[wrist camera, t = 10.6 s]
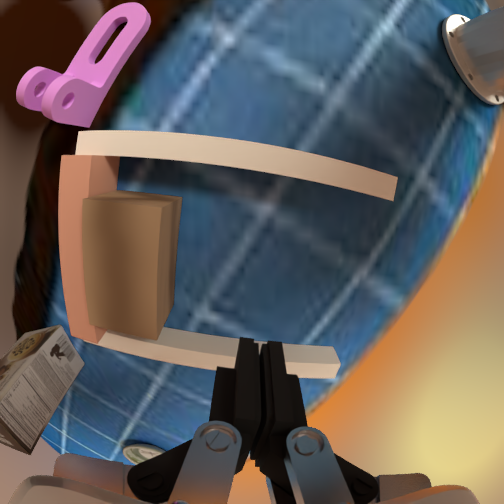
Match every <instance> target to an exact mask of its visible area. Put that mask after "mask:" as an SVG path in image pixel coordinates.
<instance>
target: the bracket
mask: <svg viewBox="0 0 504 504" xmlns="http://www.w3.org/2000/svg"><path fill="white" fill-rule="evenodd" d="M150 21H151V20H150V15H149V14H148V12H147V11H146V9H145V8H144V6H142V5H141V4H139V3H125V4H121V5H119V6H117V7H115V8H113V9H111V10H110V11H108V12H107V13H106V14H105V15H104V16H103V17H102V18H101V19H100V20H99V22H98V23H97V24H96V26H95V27H94V29H93V30H92V31H91V33H90V34H89V36H88V37H87V38H86V40H85V41H84V43H83V45H82V46H81V48H80V49H79V51H78V52H77V54H76V56H75V57H74V59H73V61H72V62H71V64H70V66H69V67H68V69H67V71H66V72H65V73H64V74H60V73H58V72H55V71H53V70H50V69H46V68H43V67H34V68H33V69H31V70H29V71H28V72H27V73H26V74H25V75H24V76H23V77H22V79H21V80H20V83H19V85H18V87H17V92H16V98H17V101H18V103H19V104H20V105H22V106H24V107H26V108H29V109H31V110H37V111H42V113H43V115H44V116H46V117H47V118H49V119H51V120H53V121H55V122H58V123H64V124H70V125H76V126H82V127H88V128H89V127H90V125H91V123H92V121H93V119H94V117H95V115H96V113H97V111H98V109H99V107H100V105H101V103H102V101H103V99H104V97H105V96H106V94H107V92H108V90H109V88H110V87H111V85H112V83H113V82H114V80H115V78H116V77H117V75H118V73H119V72H120V70H121V68H122V67H123V65H124V64H125V62H126V61H127V59H128V58H129V56H130V55H131V53H132V52H133V50H134V49H135V47H136V46H137V45H138V43H139V42H140V40H141V39H142V38H143V36H144V35H145V34H146V32H147V31H148V29H149V26H150ZM124 22H127V25H126V26H125V27H124V29H123V30H122V31H121V33H120V34H119V35H118V37H117V38H116V40H115V41H114V42H113V44H112V45H111V47H110V48H109V50H108V51H107V53H106V54H105V56H104V57H103V59H102V60H101V61H100V62H99V63H97V64H95V59H96V57H97V56H98V54H99V53H100V51H101V50H102V48H103V47H104V45H105V44H106V42H107V41H108V39H109V38H110V37H111V35H112V34H113V32H114V31H115V30H116V28H117V27H118V26H119V25H120V24H122V23H124ZM36 86H37V88H36V90H35V87H36ZM34 90H35V91H34Z"/></svg>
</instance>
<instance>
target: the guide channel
mask: <svg viewBox="0 0 504 504" xmlns="http://www.w3.org/2000/svg"><path fill="white" fill-rule="evenodd" d="M120 156H127V157H143V158H157V159H168V160H179V161H189V162H198V163H206V164H214V165H221V166H229V167H236V168H242V169H249V170H255V171H261V172H267V173H273V174H278V175H284V176H289V177H294V178H299V179H304V180H309V181H314V182H318V183H323V184H327V185H332V186H336V187H340V188H345V189H349V190H353V191H357V192H361V193H365V194H369V195H372V196H376V197H380V198H384V199H387V200H391V201H393V200H394V195H395V190H396V185H397V180H398V177H395V176H392V175H389V174H386V173H383V172H379V171H376V170H373V169H369V168H366V167H363V166H359V165H356V164H352V163H348V162H345V161H341V160H337V159H333V158H329V157H325V156H321V155H316V154H312V153H307V152H303V151H298V150H293V149H288V148H283V147H278V146H273V145H267V144H261V143H255V142H249V141H243V140H236V139H229V138H221V137H213V136H204V135H194V134H183V133H169V132H152V131H79V132H78V139H77V146H76V154H75V155H62V157H61V168H60V181H59V211H58V219H59V249H60V263H61V273H62V282H63V290H64V297H65V304H66V310H67V316H68V321H69V326H70V331H71V336H74V337H77V338H80V339H83V340H84V341H86V342H89V343H92V344H95V345H99V346H102V347H106V348H109V349H113V350H117V351H120V352H124V353H128V354H132V355H136V356H141V357H145V358H149V359H154V360H159V361H164V362H169V363H174V364H179V365H185V366H191V367H197V368H203V369H210V370H216V369H217V366H219V367H226V368H234V367H235V361H236V356H237V350H238V345H239V339H237V338H229V337H222V336H215V335H208V334H201V333H195V332H189V331H183V330H178V329H172V328H167V327H163V329H162V331H161V333H160V335H159V337H158V340H157V341H156V340H151V339H146V338H142V337H137V336H133V335H129V334H124V333H120V332H116V331H112V330H109V329H105V328H101V327H97V326H94V325H90V324H89V317H88V310H87V302H86V293H85V282H84V269H83V250H82V205H83V199H85V198H88V197H92V196H96V195H100V194H104V193H108V192H112V191H117V181H118V171H119V162H120ZM254 343H259V354H260V350H261V346H262V344H267V342H263V341H254ZM282 345H283V351H284V358H285V364H286V371H287V374H296V375H297V376H298V378H335V376H336V374H337V372H338V369H339V367H340V365H341V363H340V361H339V359H338V356H337V354H336V352H335V350H334V348H333V347H332V346H312V345H297V344H284V343H282Z"/></svg>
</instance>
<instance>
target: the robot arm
mask: <svg viewBox="0 0 504 504" xmlns="http://www.w3.org/2000/svg"><path fill="white" fill-rule="evenodd" d="M442 35H443V40H444V44H445V46H446V49H447V52H448V54H449V57H450V59H451V61H452V63H453V65H454V66H455V68H456V70H457V72H458V73H459V75H460V76H461V78H462V80H463V81H464V82H465V83H466V85H467V86H468V87H469V88H470V90H471V91H472V92H473V93H474V94H475V95H476V96H477V97H478V98H479V99H481V100H482V101H484V102H485V103H488V104H490V105H498V104H502V103H503V102H504V6H503V7H500V8H498V9H495V10H493V11H490V12H488V13H485V14H483V15H481V16H478V17H476V18H474V19H471V20H470V19H468V18H466V17H464V16H462V15H458V14H453V15H451V16H449V17H447V18H446V19H445V20H444V22H443V25H442ZM249 452H250V459H251V460H255V467H260V472H262V473H263V474H264V475H266V482H267V487H268V491H269V495H270V499H271V504H479V502H478V500H477V498H476V497H475V495H474V494H473V493H472V492H471V490H469V489H468V488H466V487H464V486H459V485H440V486H434V487H431V482H430V479H429V478H428V477H427V476H426V475H424V474H420V473H414V474H396V475H379V476H377V477H373V476H372V475H370V474H369V473H367V472H365V471H363V470H362V469H360V468H358V467H356V466H355V465H353V464H351V463H349V462H347V461H346V460H344V459H343V458H341V457H339V456H338V455H336V454H335V453H333V451H332V448H331V446H330V443H329V441H328V439H327V437H326V436H325V435H324V434H323V433H322V432H321V431H320V430H318V429H316V428H312V427H308V426H307V420H306V415H305V409H304V404H303V399H302V393H301V388H300V383H299V378H298V376H297V375H296V374H287V371H286V364H285V358H284V351H283V345H282V342H276V341H268V342H267V344H262V346H261V350H260V354H259V343H254V339H251V338H243V337H240V339H239V345H238V350H237V356H236V361H235V367H234V368H226V367H219V366H217V369H216V376H215V382H214V389H213V396H212V403H211V410H210V417H209V422H206V423H204V424H202V425H201V426H199V427H198V429H197V430H196V432H195V435H194V437H193V439H191V440H189V441H187V442H185V443H183V444H181V445H179V446H177V447H175V448H173V449H171V450H168V451H166V452H164V453H162V454H160V455H157V456H155V457H153V458H151V459H148V460H146V461H143V462H141V463H139V464H137V465H135V466H134V465H124V464H123V462H115V461H109V460H102V459H97V458H91V457H86V456H81V455H77V454H71V453H66V454H62V455H60V456H59V457H58V458H57V459H56V462H55V465H54V473H53V476H47V475H37V476H31V477H28V478H27V479H25V480H24V481H23V482H22V483H21V484H20V485H19V486H18V487H17V489H16V490H15V492H14V493H13V495H12V497H11V499H10V501H9V503H8V504H227V502H228V497H229V493H230V490H231V485H232V482H233V477H234V475H235V474H237V473H238V472H240V471H241V470H242V469H243V466H244V464H245V461H246V459H247V457H248V454H249Z"/></svg>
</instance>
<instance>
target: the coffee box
mask: <svg viewBox="0 0 504 504" xmlns="http://www.w3.org/2000/svg"><path fill="white" fill-rule="evenodd" d="M83 366H84V362H83V360H82V359H81V357H80V356H79V354H78V352H77V351H76V349H75V348H74V346H73V344H72V343H71V341H70V339H69V338H68V336H67V334H66V333H65V331H64V329H63V327H62V326H61V325H56V326H52V327H48V328H44V329H40V330H36V331H32V332H27V333H25V334H24V335H23V336H22V337H21V338H20V339H19V340H18V341H17V342H16V343H15V344H14V345H13V346H12V347H11V348H10V349H9V350H8V351H7V352H6V353H5V355H4V356H3V357H2V358H1V359H0V443H2V444H4V445H6V446H9V447H11V448H13V449H15V450H18V451H21V452H23V453H26V454H28V455H31V453H32V451H33V449H34V447H35V445H36V444H37V442H38V440H39V438H40V436H41V434H42V433H43V431H44V429H45V427H46V426H47V424H48V422H49V420H50V419H51V417H52V415H53V413H54V412H55V410H56V408H57V407H58V405H59V403H60V402H61V400H62V399H63V397H64V395H65V394H66V392H67V391H68V389H69V387H70V386H71V384H72V383H73V381H74V380H75V378H76V377H77V375H78V373H79V372H80V370H81V369H82V367H83Z"/></svg>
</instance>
